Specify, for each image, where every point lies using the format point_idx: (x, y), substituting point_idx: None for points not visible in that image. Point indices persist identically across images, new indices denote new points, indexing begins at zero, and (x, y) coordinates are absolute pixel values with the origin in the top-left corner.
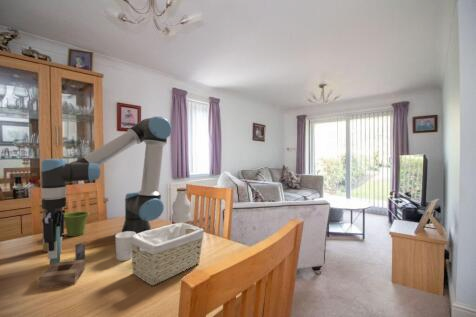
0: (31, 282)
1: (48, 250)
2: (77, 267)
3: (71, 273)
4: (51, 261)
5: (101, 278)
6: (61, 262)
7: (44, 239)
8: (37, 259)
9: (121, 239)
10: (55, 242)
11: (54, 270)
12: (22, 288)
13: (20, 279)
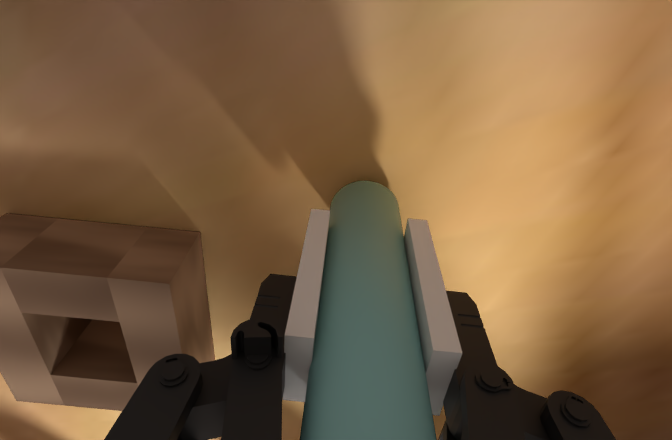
0: (92, 142)
1: (300, 265)
2: (81, 401)
3: (13, 387)
4: (333, 209)
5: (109, 413)
6: (166, 326)
7: (123, 413)
8: (576, 17)
9: None
10: (286, 385)
11: (49, 312)
12: (13, 117)
13: (147, 40)
